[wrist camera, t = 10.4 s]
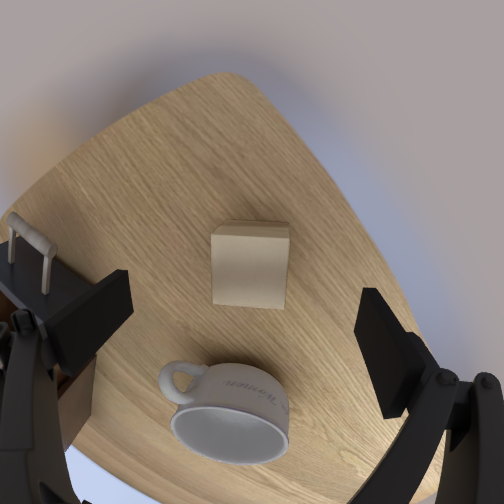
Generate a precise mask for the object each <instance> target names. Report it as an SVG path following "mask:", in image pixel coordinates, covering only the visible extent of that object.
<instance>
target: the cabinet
mask: <svg viewBox="0 0 504 504" xmlns="http://www.w3.org/2000/svg"><path fill="white" fill-rule="evenodd" d="M95 363H96V355H95V354H94V355H93V356H92V357H91V358H90V360H89V361H88V362H87V363H86V364H85V365H84V366H83V367H82V368H81V370H80V371H79V372H78V373H77V374H76V375H75V376H74V377H71V376H70V377H69V378H68V380H67V381H66V382H65V383H64V384H63V385H62V386H61V388H60V389H59V390H58V391H57V398H58V410H59V420H60V428H61V435H62V442H63V448H64V452H66V451H67V449H68V448H69V446H70V445H71V443H72V442H73V440H74V439H75V437H76V436H77V434H78V433H79V431H80V430H81V428H82V427H83V426H84V424H85V423H86V421H87V420H88V418H89V417H90V415H91V401H92V389H93V380H94V371H95ZM1 368H2V363H1V361H0V369H1Z"/></svg>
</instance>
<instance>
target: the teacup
mask: <svg viewBox="0 0 504 504" xmlns="http://www.w3.org/2000/svg"><path fill="white" fill-rule="evenodd" d="M174 372H183V373H187V374H189V375H191V376H193V377H194V379H193V380H192V381H191V383H190V384H189V386H188V388H187V390H186V392H181V391H180V390H179V389H178V388H177V387H176V386H175V384H174V381H173V374H174ZM158 382H159V387H160V389H161V391H162V393H163V394H164V395H165V397H166V398H167V399H169V400H170V401H172V402H175V403H178V404H179V406H178V409H177V411H176V413H175V414H174V415H173V417H172V418H171V422H170V426H171V430H172V432H173V434H174V435H175V437H176V438H177V439H178V440H179V441H180V442H181V443H182V444H183V445H184V446H186V447H187V448H188V449H190V450H192V451H193V452H195V453H197V454H199V455H201V456H203V457H206V458H209V459H211V460H215V461H218V462H222V463H227V464H234V465H259V464H264V463H268V462H271V461H274V460H276V459H278V458H280V457H281V456H283V455H284V454H285V453H286V451H287V449H288V446H289V439H288V430H289V403H288V397H287V395H286V392H285V390H284V388H283V387H282V385H281V384H280V383H279V382H278V381H277V380H276V379H275V378H274V377H272V376H271V375H270V374H268V373H266V372H265V371H263V370H261V369H258V368H256V367H253V366H249V365H245V364H239V363H223V364H217V365H213V366H211V367H208V366H207V365H205V364H200V365H197V364H194V363H191V362H187V361H181V360H177V361H172V362H170V363H168V364H166V365H165V366H164V367H163V368H162V369H161V371H160V373H159V378H158Z"/></svg>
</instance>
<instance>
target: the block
mask: <svg viewBox="0 0 504 504" xmlns="http://www.w3.org/2000/svg"><path fill="white" fill-rule="evenodd" d="M289 248H290V232H289V223H284V222H267V221H247V220H225V221H224V222H223V223H222V224H221V225H220V226H219V227H218V228H217V229H216V230H215V231H214V232H213V233H212V234H211V276H212V303H213V304H219V305H229V306H241V307H253V308H267V309H282V310H284V309H285V298H286V286H287V274H288V261H289Z"/></svg>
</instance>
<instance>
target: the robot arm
mask: <svg viewBox="0 0 504 504" xmlns="http://www.w3.org/2000/svg"><path fill="white" fill-rule="evenodd" d="M133 312H134V310H133V304H132V298H131V291H130V284H129V277H128V270H119V269H117V270H115V271H114V272H113V273H111V274H110V275H108V276H107V277H105V278H104V279H102V280H101V281H100V282H98V283H97V284H95V285H94V286H92V287H91V288H90V289H88V290H87V291H85V292H84V293H83V294H81V295H80V296H78V297H77V298H76V299H74V300H73V301H72V302H70V303H69V304H67V305H65V306H64V307H62V308H61V309H60V310H59V311H57V312H56V313H54V315H52V316H50V317H49V318H48V319H46V320H45V321H44V322H43V323H41V324H40V325H39V326H38V324H37V321H36V317H35V314H34V311H33V310H32V309H31V308H22V309H19V310H17V311H15V312H14V313H12V314H11V316H10V317H11V320H12V323H13V326H14V329H15V332H12V331H10V329H9V326H8V324H7V323H6V322H0V361H1V363H2V368H1V369H0V504H81V502H80V500H79V499H78V498H77V496H76V494H75V493H74V491H73V488H72V485H71V481H70V477H69V472H68V468H67V463H66V459H65V453H64V448H63V442H62V435H61V428H60V420H59V410H58V398H57V380H56V371H55V368H54V366H55V365H56V364H57V363H58V365H59V367H60V369H61V372H62V373H63V374H66V375H68V376H71V377H74V376H75V375H76V374H77V373H78V372H79V371H80V370H81V368H82V367H83V366H84V365H85V364H86V363H87V362H88V361H89V360H90V358H91V357H92V356H93V355H94V354H95V353H96V352H97V351H98V350H99V349H100V347H101V346H102V345H103V344H104V343H105V342H106V341H107V340H108V339H109V338H110V337H111V336H112V335H113V333H114V332H115V331H116V330H117V329H118V328H119V327H120V326H121V325H122V324H123V323H124V322H125V321H126V320H127V319H128V318H129V317H130V316H131V315H132V313H133ZM354 334H355V336H356V339H357V342H358V344H359V347H360V350H361V353H362V355H363V358H364V361H365V364H366V367H367V370H368V372H369V375H370V378H371V381H372V384H373V387H374V390H375V393H376V396H377V399H378V402H379V406H380V409H381V412H382V415H383V419H390V418H398V417H401V415H402V414H403V412H404V410H405V408H407V411H408V413H409V415H408V417H407V419H406V420H405V422H404V424H403V425H402V427H401V429H400V430H399V432H398V434H397V436H396V437H395V439H394V441H393V442H392V444H391V445H390V447H389V448H388V450H387V451H386V453H385V454H384V456H383V457H382V459H381V460H380V462H379V463H378V465H377V466H376V467H375V469H374V470H373V472H372V473H371V474H370V476H369V477H368V478H367V480H366V481H365V482H364V483H363V485H362V486H361V487H360V488H359V490H358V491H357V492H356V493H355V495H354V496H353V497H352V498H351V499H350V500H349V502H348V503H347V504H409V502H410V501H411V499H412V497H413V495H414V494H415V492H416V490H417V488H418V487H419V485H420V483H421V481H422V479H423V477H424V475H425V473H426V471H427V469H428V467H429V465H430V463H431V461H432V459H433V457H434V454H435V452H436V450H437V447H438V445H439V443H440V440H441V438H442V435H443V433H444V430H445V429H446V441H445V450H444V458H443V465H442V472H441V477H440V483H439V488H438V493H437V497H436V501H435V504H504V400H503V395H502V390H501V385H500V382H499V380H498V379H497V378H496V377H495V376H494V375H492V374H491V373H487V372H481V373H478V374H477V376H476V377H475V379H474V380H473V382H464V381H459V379H458V377H457V375H456V374H455V373H453V372H452V371H450V370H448V369H444V368H440V367H439V365H438V364H437V362H436V360H435V359H434V357H433V356H432V354H431V353H430V351H429V350H428V348H427V347H426V346H425V344H424V342H423V341H422V339H421V338H420V337H419V336H417V335H416V334H415V333H413V332H406V331H405V330H404V328H403V327H402V325H401V324H400V322H399V321H398V319H397V318H396V316H395V315H394V313H393V312H392V310H391V309H390V307H389V306H388V304H387V303H386V301H385V300H384V299H383V297H382V296H381V294H380V293H379V291H378V290H377V289H376V288H365V287H363V290H362V295H361V300H360V305H359V310H358V315H357V319H356V323H355V328H354ZM82 504H92V503H90V502H88V501H86V500H83V502H82Z"/></svg>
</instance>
